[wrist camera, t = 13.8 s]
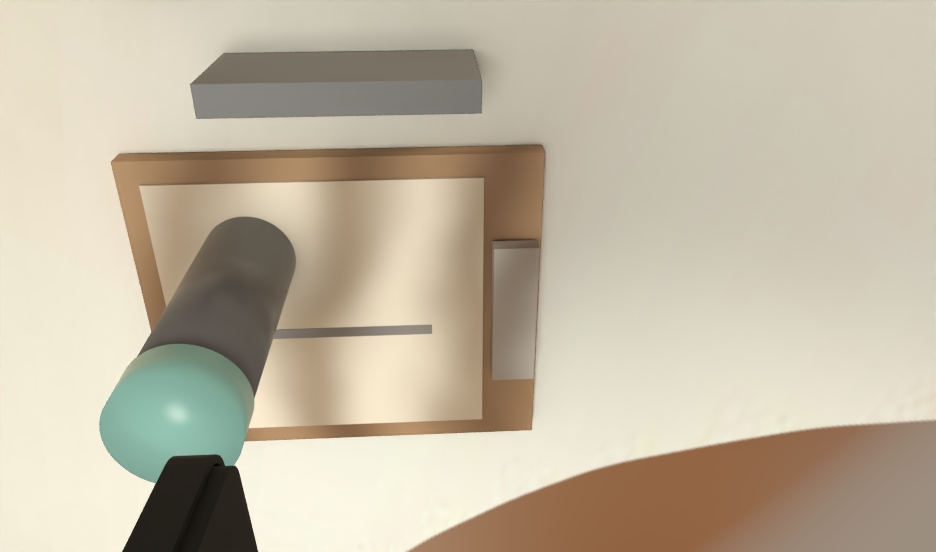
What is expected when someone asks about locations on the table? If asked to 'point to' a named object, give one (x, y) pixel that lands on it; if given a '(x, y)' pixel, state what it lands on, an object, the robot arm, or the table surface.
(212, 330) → the marker
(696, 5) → the table surface
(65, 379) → the table surface
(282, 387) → the clipboard
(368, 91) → the bar
